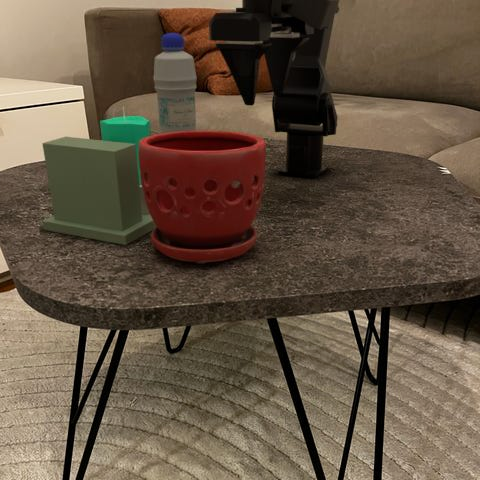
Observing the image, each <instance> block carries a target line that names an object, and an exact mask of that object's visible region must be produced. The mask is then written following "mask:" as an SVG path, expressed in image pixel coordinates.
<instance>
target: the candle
mask: <svg viewBox="0 0 480 480" xmlns="http://www.w3.org/2000/svg"><path fill="white" fill-rule="evenodd" d="M125 112H126V111H125V106H122V113H123V116H115V117H112V118H108V119H103V120H99V124H100V133H101V134H100V135H101V140H102V141H112V142H121V143H131V144H136V153H137V165H138V176H139V185H142V184H141V175H140V167H139V141H140V140H142V139H143V138H145V137H148V136H152V135H151V134H152V133H151V122H150V119H147V118H145V117H143V116H141V115H127V116H126V114H125Z"/></svg>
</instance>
